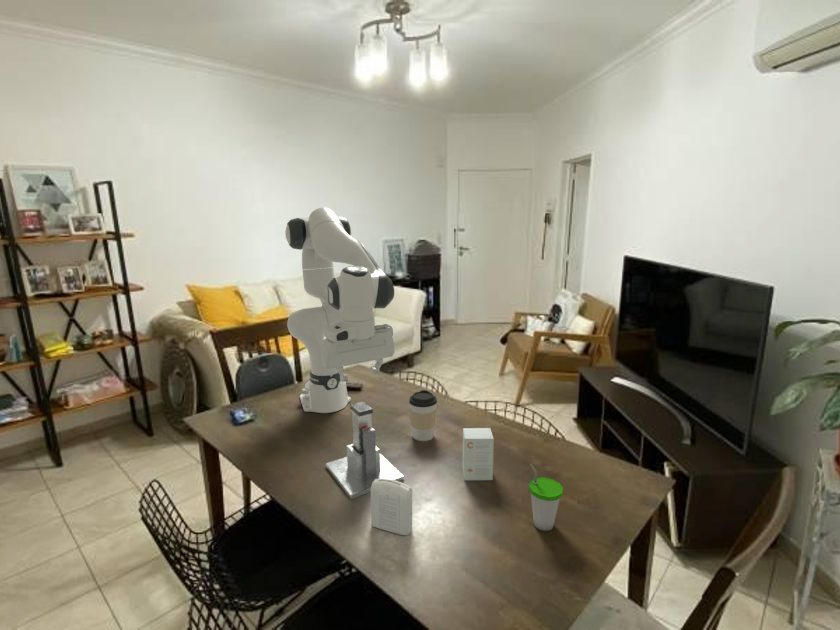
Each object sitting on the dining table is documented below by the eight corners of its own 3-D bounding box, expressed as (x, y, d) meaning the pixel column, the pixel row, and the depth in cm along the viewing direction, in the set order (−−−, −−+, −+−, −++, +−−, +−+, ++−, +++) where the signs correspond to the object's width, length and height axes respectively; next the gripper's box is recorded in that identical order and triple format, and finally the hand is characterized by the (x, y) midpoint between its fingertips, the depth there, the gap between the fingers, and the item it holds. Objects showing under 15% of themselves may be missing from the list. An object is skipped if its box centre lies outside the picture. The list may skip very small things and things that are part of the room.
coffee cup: (434, 444, 146) (434, 400, 142) (406, 441, 147) (406, 398, 144) (438, 430, 154) (438, 389, 151) (412, 428, 156) (412, 387, 152)
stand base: (326, 466, 133) (323, 418, 129) (374, 451, 141) (373, 405, 138) (351, 499, 118) (348, 445, 115) (403, 479, 127) (402, 429, 123)
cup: (567, 531, 106) (572, 474, 103) (539, 539, 104) (543, 482, 100) (547, 510, 113) (550, 457, 110) (520, 518, 111) (523, 463, 107)
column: (353, 465, 131) (350, 404, 126) (365, 461, 133) (363, 401, 128) (361, 475, 126) (359, 412, 121) (374, 471, 128) (372, 409, 124)
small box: (489, 468, 132) (490, 427, 129) (492, 480, 126) (494, 438, 123) (461, 468, 132) (462, 427, 129) (463, 481, 126) (464, 438, 123)
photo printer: (415, 526, 108) (414, 480, 105) (408, 538, 104) (407, 491, 101) (376, 516, 112) (375, 471, 109) (368, 527, 108) (366, 481, 105)
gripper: (387, 320, 128) (388, 366, 131) (317, 331, 117) (320, 381, 120) (398, 325, 123) (399, 373, 126) (326, 336, 112) (329, 389, 115)
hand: (360, 377), depth 123 cm, fingers open, 8 cm apart
